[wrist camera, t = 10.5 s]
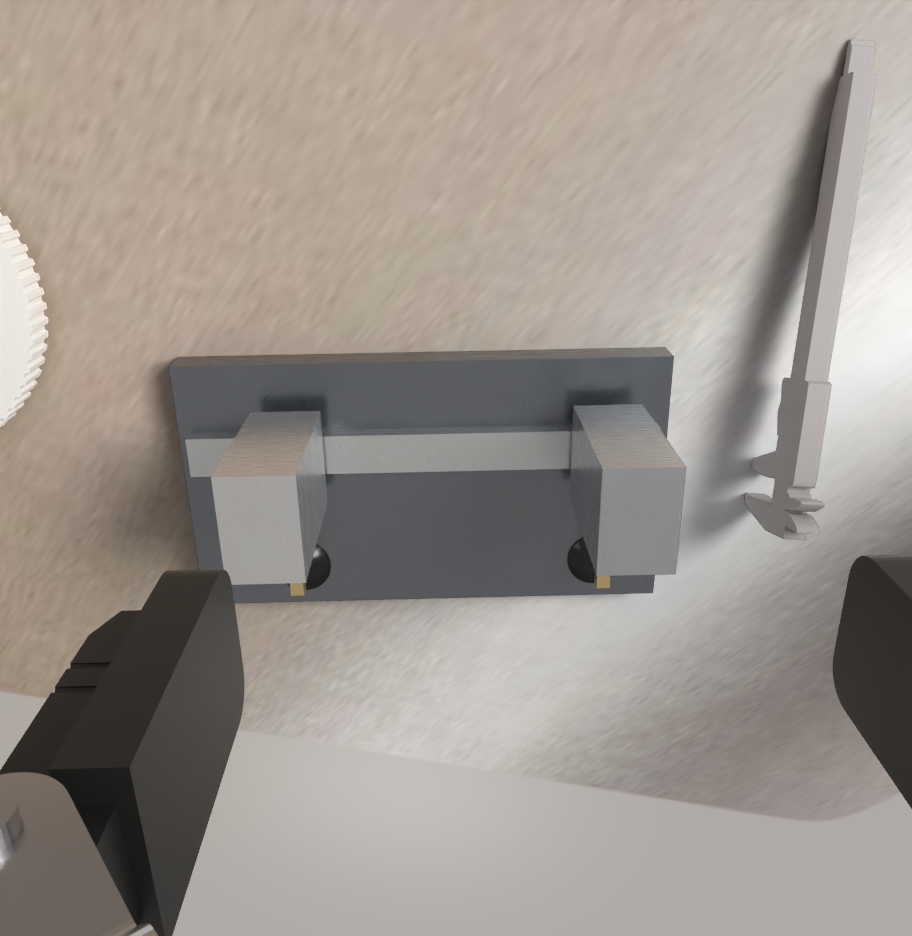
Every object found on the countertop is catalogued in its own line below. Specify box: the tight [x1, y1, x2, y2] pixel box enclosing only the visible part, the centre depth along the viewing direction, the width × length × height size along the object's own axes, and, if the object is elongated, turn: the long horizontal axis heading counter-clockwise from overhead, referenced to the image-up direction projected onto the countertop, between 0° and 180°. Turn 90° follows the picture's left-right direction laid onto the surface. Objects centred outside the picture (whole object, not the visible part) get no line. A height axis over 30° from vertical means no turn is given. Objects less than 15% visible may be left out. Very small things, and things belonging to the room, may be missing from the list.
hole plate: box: [169, 347, 674, 603], centre depth 40 cm, size 22×12×2 cm, turn 91°
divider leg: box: [211, 411, 328, 596], centre depth 35 cm, size 3×8×7 cm, turn 1°
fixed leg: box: [570, 404, 686, 588], centre depth 35 cm, size 3×8×7 cm, turn 1°
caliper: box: [745, 39, 878, 540], centre depth 35 cm, size 20×1×6 cm, turn 176°
